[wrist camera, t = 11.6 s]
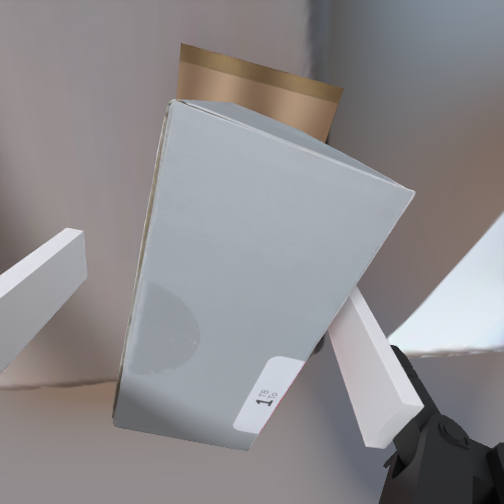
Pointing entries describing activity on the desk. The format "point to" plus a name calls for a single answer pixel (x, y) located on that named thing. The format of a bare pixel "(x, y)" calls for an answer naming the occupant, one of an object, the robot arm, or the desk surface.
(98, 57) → the desk surface
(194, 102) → the hard drive box
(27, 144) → the desk surface
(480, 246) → the desk surface
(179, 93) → the light brown wooden slab
